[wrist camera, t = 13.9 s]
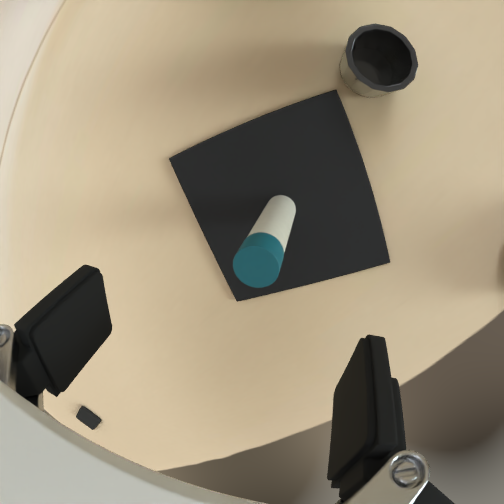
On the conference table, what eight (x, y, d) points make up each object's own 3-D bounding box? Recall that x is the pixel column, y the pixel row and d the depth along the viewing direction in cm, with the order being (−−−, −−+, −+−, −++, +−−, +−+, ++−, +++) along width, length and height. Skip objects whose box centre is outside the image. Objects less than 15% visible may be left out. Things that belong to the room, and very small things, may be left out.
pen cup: (330, 53, 25) (333, 33, 18) (382, 40, 23) (400, 18, 16) (352, 104, 27) (362, 99, 20) (403, 90, 25) (428, 83, 18)
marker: (261, 200, 33) (225, 253, 21) (290, 190, 32) (269, 239, 20) (272, 226, 34) (243, 292, 22) (300, 218, 33) (286, 281, 21)
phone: (75, 417, 77) (81, 406, 70) (76, 415, 78) (82, 404, 70) (93, 430, 78) (101, 421, 71) (94, 428, 78) (102, 419, 71)
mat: (170, 158, 33) (168, 158, 33) (335, 89, 26) (336, 89, 26) (237, 300, 40) (236, 301, 40) (389, 260, 33) (390, 262, 33)
